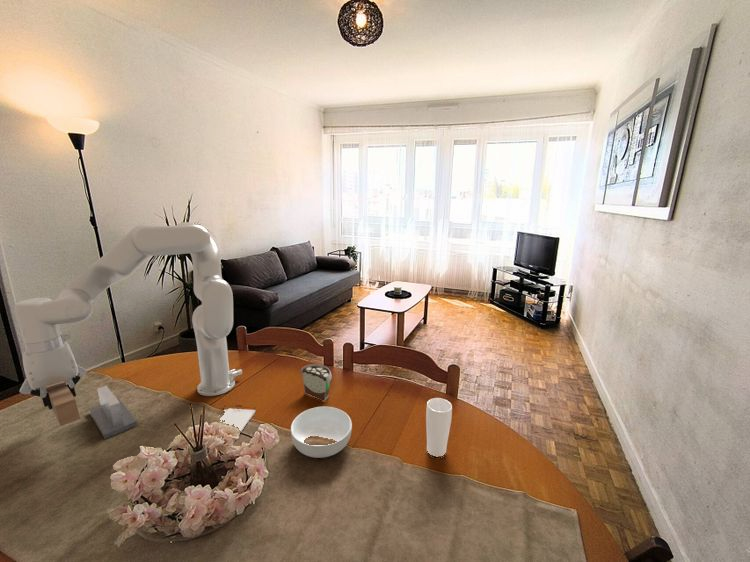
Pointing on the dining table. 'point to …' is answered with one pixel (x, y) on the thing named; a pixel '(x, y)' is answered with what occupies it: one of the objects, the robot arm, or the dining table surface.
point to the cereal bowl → (321, 430)
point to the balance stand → (111, 414)
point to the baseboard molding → (237, 417)
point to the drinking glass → (438, 425)
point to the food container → (316, 380)
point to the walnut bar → (63, 403)
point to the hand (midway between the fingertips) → (61, 402)
